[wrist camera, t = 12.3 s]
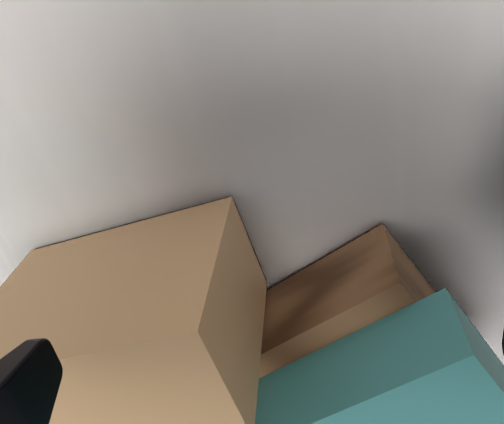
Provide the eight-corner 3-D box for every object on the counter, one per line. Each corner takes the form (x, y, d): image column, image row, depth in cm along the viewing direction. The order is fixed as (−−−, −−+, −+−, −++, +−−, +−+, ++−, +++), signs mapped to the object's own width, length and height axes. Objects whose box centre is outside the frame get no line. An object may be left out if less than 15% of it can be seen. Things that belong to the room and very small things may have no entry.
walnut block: (382, 223, 23) (400, 282, 19) (471, 338, 26) (502, 410, 22) (224, 314, 26) (211, 379, 22) (318, 406, 29) (321, 477, 26)
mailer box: (231, 196, 23) (197, 331, 15) (267, 283, 25) (253, 439, 17) (31, 250, 25) (-88, 389, 17) (80, 324, 28) (-5, 475, 20)
